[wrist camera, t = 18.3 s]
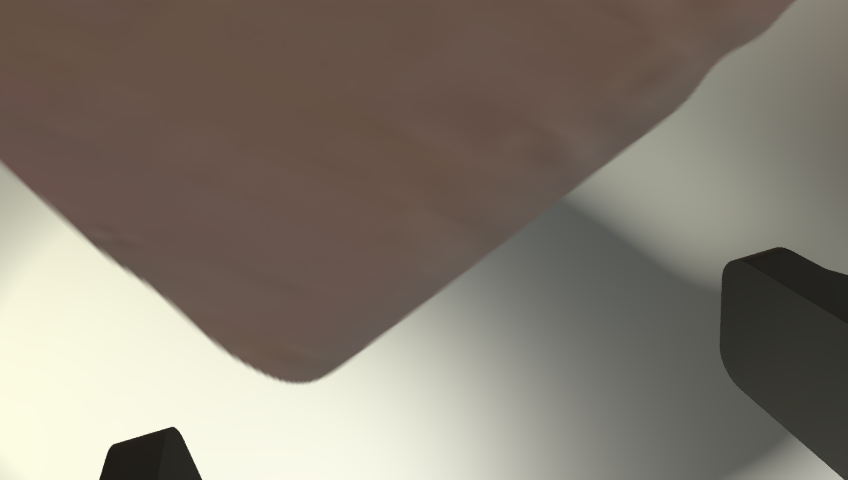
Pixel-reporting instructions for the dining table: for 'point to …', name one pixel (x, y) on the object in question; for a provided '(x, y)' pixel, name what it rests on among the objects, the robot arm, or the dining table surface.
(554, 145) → the dining table surface
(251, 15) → the dining table surface
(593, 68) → the dining table surface
